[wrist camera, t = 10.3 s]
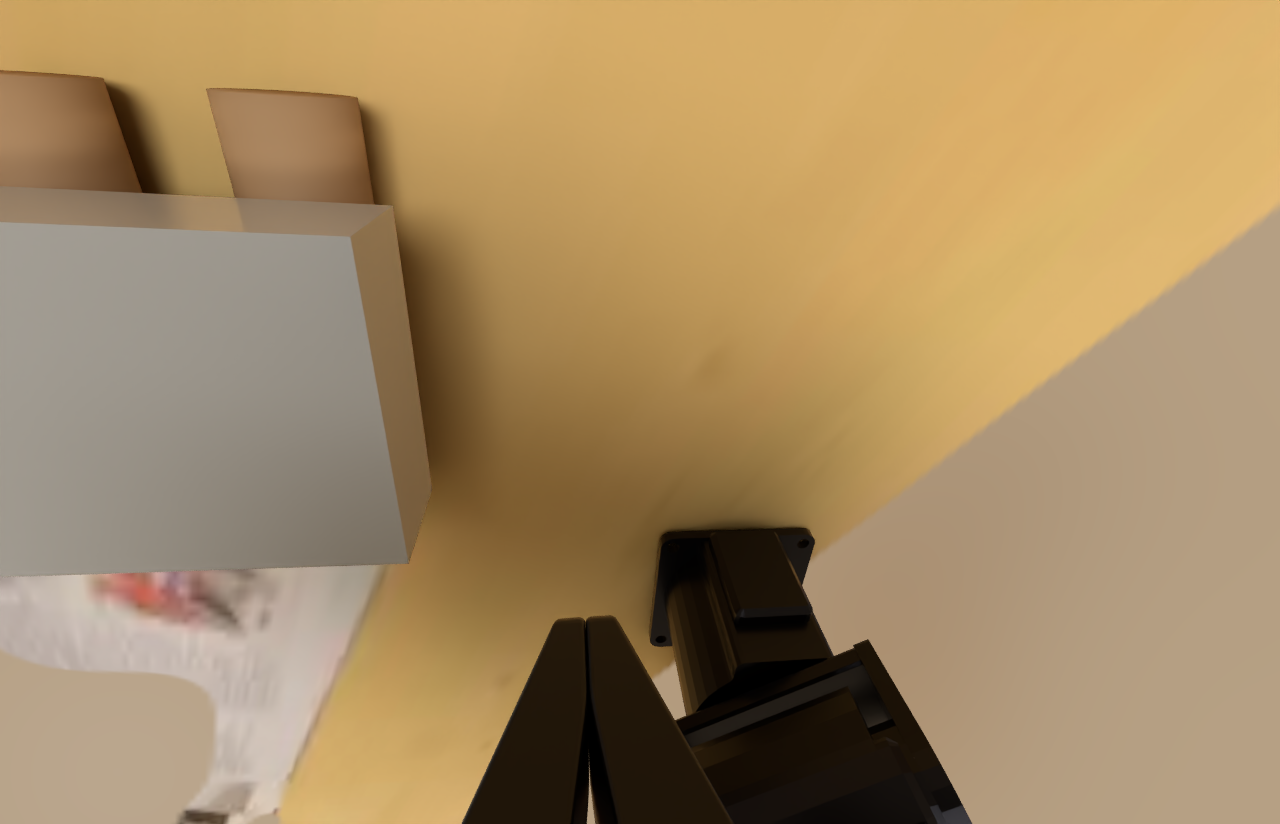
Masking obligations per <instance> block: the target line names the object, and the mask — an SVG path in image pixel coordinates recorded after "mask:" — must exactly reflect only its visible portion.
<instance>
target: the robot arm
mask: <svg viewBox="0 0 1280 824" xmlns="http://www.w3.org/2000/svg"><path fill="white" fill-rule="evenodd" d="M803 539H804V540H803ZM800 540H802V541H800ZM799 541H800V542H799ZM672 543H676V544H675V545H673V546H669V545H670V544H672ZM814 544H815V540H814V538H813V536H812V534H811V532H810V531H809V530H808V529H805V528H790V529H754V530H718V531H682V532H669V533H666V534H664V535H663V536H662V537H661V539H660V541H659V550H658V558H657V567H656V575H655V584H654V593H653V601H652V610H651V619H650V627H649V636H650V642H651V644H652V645H654V646H657V647H664V646H673V651H674V656H675V661H676V666H677V671H678V676H679V681H680V686H681V691H682V697H683V702H684V707H685V712H686V716H685V717H682V718H680V719H677V720H674V718H673V716H672V715H671V713H670V711H669V709H668V708H667V706H666V704H665V702H664V701H663V699H662V697H661V695H660V694H659V692H658V690H657V688H656V687H655V685H654V683H653V681H652V680H651V678H650V676H649V674H648V673H647V671H646V669H645V667H644V666H643V664H642V662H641V660H640V659H639V657H638V655H637V653H636V652H635V650H634V648H633V646H632V645H631V643H630V641H629V639H628V638H627V636H626V634H625V632H624V631H623V629H622V627H621V625H620V624H619V622H618V620H617V619H616V618H615V617H614V616H611V615H608V616H593V617H589V618H588V619H587V620H586V628H585V620H584V619H583V618H580V617H577V618H562V619H558V620H556V621H555V623H554V624H553V626H552V628H551V630H550V632H549V635H548V637H547V639H546V641H545V643H544V645H543V648H542V650H541V652H540V654H539V656H538V658H537V661H536V663H535V665H534V667H533V669H532V672H531V674H530V676H529V678H528V680H527V682H526V685H525V687H524V689H523V691H522V693H521V695H520V698H519V700H518V702H517V704H516V706H515V709H514V711H513V713H512V715H511V717H510V719H509V722H508V724H507V726H506V728H505V730H504V732H503V735H502V737H501V739H500V741H499V743H498V745H497V748H496V750H495V752H494V754H493V756H492V759H491V761H490V763H489V765H488V767H487V769H486V772H485V774H484V776H483V778H482V780H481V782H480V785H479V787H478V789H477V791H476V793H475V796H474V798H473V800H472V802H471V804H470V806H469V809H468V811H467V813H466V815H465V817H464V819H463V822H462V824H587V812H588V795H589V768H590V785H591V793H592V801H593V810H594V817H595V823H596V824H972V822H971V820H970V819H969V817H968V815H967V813H966V811H965V809H964V807H963V805H962V803H961V801H960V799H959V797H958V795H957V793H956V791H955V790H954V788H953V786H952V784H951V782H950V780H949V778H948V776H947V775H946V773H945V771H944V769H943V767H942V765H941V764H940V762H939V760H938V758H937V756H936V754H935V753H934V751H933V749H932V747H931V746H930V744H929V742H928V740H927V739H926V737H925V735H924V733H923V732H922V730H921V728H920V727H919V725H918V723H917V721H916V720H915V718H914V717H913V715H912V713H911V711H910V710H909V708H908V706H907V704H906V703H905V701H904V699H903V698H902V696H901V694H900V693H899V691H898V689H897V688H896V686H895V684H894V682H893V681H892V679H891V677H890V676H889V674H888V673H887V670H886V669H885V667H884V665H883V664H882V662H881V660H880V659H879V657H878V655H877V654H876V652H875V650H874V648H873V647H872V645H871V643H870V642H869V640H868V639H867V640H865V641H862V642H860V643H858V644H855V645H853V646H854V648H853V649H851V650H848V651H846V652H843V653H841V654H838V655H836V656H834V655H833V653H832V651H831V649H830V647H829V645H828V643H827V641H826V638H825V637H824V634H823V632H822V630H821V628H820V626H819V624H818V622H817V619H816V618H815V615H814V613H813V610H812V606H811V604H810V602H809V600H808V598H807V595H806V593H805V591H804V589H803V587H802V584H803V580H804V577H805V574H806V571H807V567H808V564H809V561H810V557H811V554H812V550H813V547H814Z"/></svg>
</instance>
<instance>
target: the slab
mask: <svg viewBox="0 0 1280 824" xmlns="http://www.w3.org/2000/svg"><path fill="white" fill-rule="evenodd" d="M431 492H432V484H431V477H430V470H429V463H428V455H427V448H426V441H425V434H424V427H423V419H422V412H421V405H420V398H419V391H418V383H417V376H416V369H415V362H414V354H413V347H412V340H411V333H410V326H409V318H408V311H407V304H406V297H405V290H404V282H403V275H402V268H401V261H400V253H399V246H398V239H397V232H396V225H395V217H394V210H393V205H372V204H352V203H332V202H312V201H291V200H271V199H251V198H231V197H210V196H190V195H170V194H150V193H130V192H109V191H89V190H69V189H49V188H28V187H8V186H0V577H23V576H53V575H82V574H112V573H142V572H172V571H201V570H231V569H261V568H291V567H320V566H350V565H380V564H409V561H410V558H411V555H412V551H413V548H414V545H415V542H416V539H417V536H418V533H419V529H420V526H421V523H422V520H423V517H424V514H425V511H426V507H427V504H428V501H429V498H430V495H431Z"/></svg>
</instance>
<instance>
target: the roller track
mask: <svg viewBox="0 0 1280 824" xmlns="http://www.w3.org/2000/svg"><path fill="white" fill-rule="evenodd" d="M206 91H207V94H208V98H209V102H210V106H211V109H212V113H213V117H214V120H215V124H216V128H217V132H218V135H219V139H220V143H221V147H222V150H223V154H224V158H225V162H226V165H227V169H228V173H229V176H230V180H231V184H232V188H233V191H234V195H235V198H251V199H271V200H291V201H312V202H332V203H352V204H372V205H374V200H373V194H372V187H371V181H370V174H369V168H368V161H367V155H366V148H365V142H364V135H363V129H362V122H361V116H360V109H359V103H358V98H357V97H351V96H344V95H334V94H322V93H310V92H295V91H279V90H259V89H232V88H210V89H206ZM0 186H8V187H28V188H49V189H69V190H89V191H109V192H130V193H142V190H141V187H140V184H139V181H138V178H137V175H136V172H135V170H134V167H133V164H132V161H131V158H130V155H129V152H128V149H127V146H126V143H125V140H124V138H123V135H122V132H121V129H120V126H119V123H118V120H117V117H116V114H115V111H114V108H113V105H112V103H111V100H110V97H109V94H108V91H107V88H106V85H105V82H104V79H103V78H99V77H90V76H80V75H67V74H53V73H38V72H22V71H4V70H0Z"/></svg>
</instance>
